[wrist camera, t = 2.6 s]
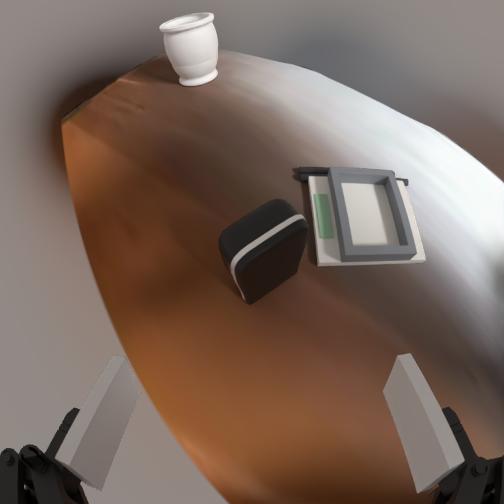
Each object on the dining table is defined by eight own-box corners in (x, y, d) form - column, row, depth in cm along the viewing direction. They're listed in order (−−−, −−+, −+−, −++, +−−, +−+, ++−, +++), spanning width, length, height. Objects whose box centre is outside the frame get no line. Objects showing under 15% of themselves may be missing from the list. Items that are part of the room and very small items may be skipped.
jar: (200, 93, 45) (186, 27, 32) (165, 86, 48) (148, 29, 34) (232, 70, 49) (225, 11, 35) (196, 65, 51) (186, 12, 38)
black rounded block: (279, 246, 31) (283, 183, 21) (299, 271, 30) (315, 217, 19) (227, 280, 30) (206, 230, 19) (247, 308, 28) (235, 271, 18)
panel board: (400, 185, 34) (407, 172, 31) (422, 262, 29) (433, 253, 26) (307, 181, 35) (310, 166, 32) (317, 266, 30) (322, 255, 27)
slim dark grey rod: (402, 175, 35) (404, 171, 34) (406, 187, 34) (409, 183, 33) (298, 170, 35) (299, 165, 35) (300, 182, 35) (301, 177, 34)
